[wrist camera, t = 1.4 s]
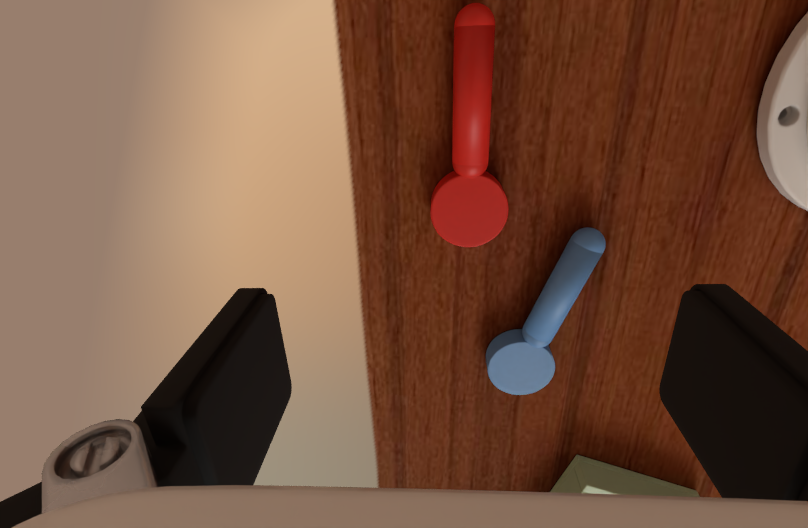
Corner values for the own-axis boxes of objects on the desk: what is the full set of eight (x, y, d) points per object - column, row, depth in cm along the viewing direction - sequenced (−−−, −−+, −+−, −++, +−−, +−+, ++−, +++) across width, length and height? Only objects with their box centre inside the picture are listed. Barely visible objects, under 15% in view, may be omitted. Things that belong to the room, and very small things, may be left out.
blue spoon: (556, 211, 24) (564, 223, 23) (623, 235, 25) (636, 248, 23) (475, 369, 29) (478, 388, 28) (533, 387, 30) (538, 407, 28)
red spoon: (429, 6, 21) (428, 2, 19) (518, 2, 20) (525, -2, 19) (431, 237, 26) (430, 250, 24) (502, 237, 25) (507, 250, 24)
